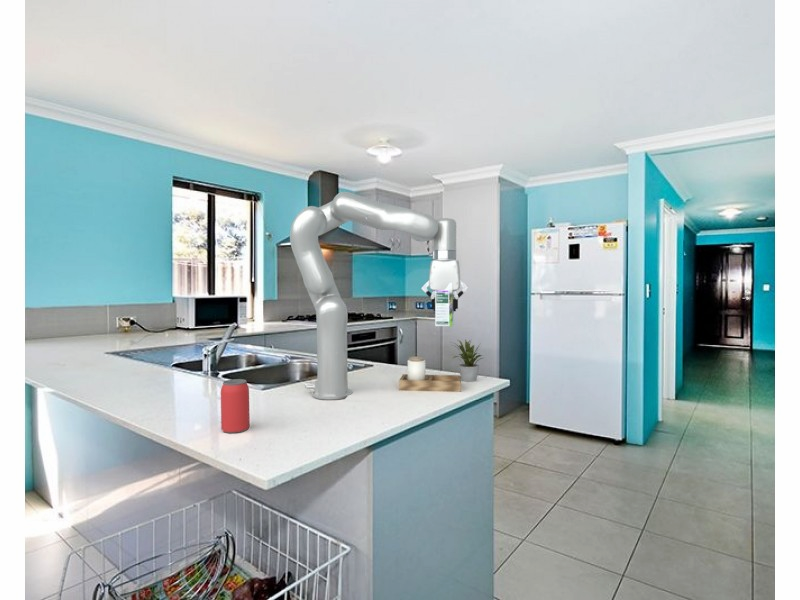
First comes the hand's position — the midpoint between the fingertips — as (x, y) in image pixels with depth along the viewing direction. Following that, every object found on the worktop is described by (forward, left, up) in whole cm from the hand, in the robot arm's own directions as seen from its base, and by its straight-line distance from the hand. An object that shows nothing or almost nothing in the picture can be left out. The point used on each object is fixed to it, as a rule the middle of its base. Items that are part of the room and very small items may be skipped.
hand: (444, 310), depth 156 cm
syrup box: (0, 0, -5) cm, 5 cm away
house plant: (+7, +14, -27) cm, 31 cm away
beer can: (-49, -48, -27) cm, 74 cm away
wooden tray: (-5, 0, -27) cm, 27 cm away
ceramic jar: (-9, 0, -26) cm, 27 cm away
